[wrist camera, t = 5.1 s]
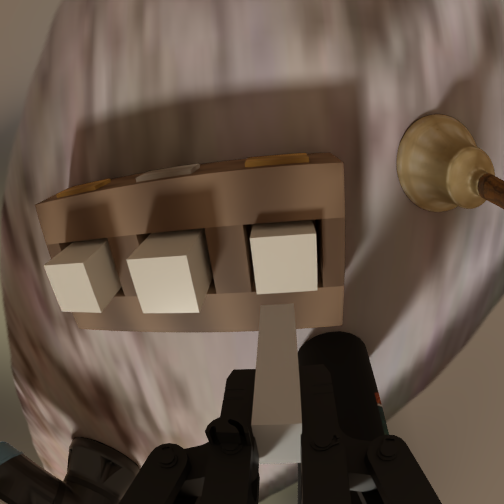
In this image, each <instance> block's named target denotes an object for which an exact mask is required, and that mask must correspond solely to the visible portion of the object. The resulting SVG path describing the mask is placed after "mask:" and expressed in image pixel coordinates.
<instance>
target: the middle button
mask: <svg viewBox="0 0 504 504" xmlns="http://www.w3.org/2000/svg"><path fill="white" fill-rule="evenodd" d="M126 260H127V264H128V267H129V270H130V274H131V277H132V280H133V284H134V287H135V290H136V293H137V296H138V299H139V302H140V305H141V308H142V311H143V313H200V310H201V307H202V305H203V302H204V299H205V297H206V294H207V291H208V289H209V286H210V283H211V281H212V278H213V272H212V267H211V262H210V256H209V251H208V245H207V240H206V234H205V228H199V229H188V230H177V231H167V232H157V233H151V234H150V235H149V236H148V237H147V238H146V239H145V240H144V241H143V242H142V243H141V244H140V245H139V247H138V248H137V249H136V250H135V251H134V252H133V253H132V254H131V255H130V256H129V257H128V258H127V259H126Z"/></svg>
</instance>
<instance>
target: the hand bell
mask: <svg viewBox="0 0 504 504" xmlns="http://www.w3.org/2000/svg"><path fill="white" fill-rule="evenodd" d="M397 174H398V178H399V181H400V184H401V187H402V188H403V190H404V193H405V194H406V195H407V196H408V198H409V199H410V200H411V201H412V202H413V203H414V204H416V205H417V206H419V207H420V208H422V209H424V210H427V211H432V212H443V211H448V210H451V209H453V208H455V207H457V206H459V207H461V208H466V209H472V208H476V207H478V206H480V205H482V204H483V203H484V202H485V201H486V200H488V201H489V202H491V203H493V204H495V205H497V206H499V207H501V208H503V209H504V181H503V180H501V179H499V178H498V177H495V173H494V167H493V164H492V162H491V160H490V158H489V156H488V155H487V154H486V153H485V152H484V151H483V150H482V149H480V148H477V146H476V143H475V141H474V139H473V137H472V136H471V134H470V133H469V131H468V130H467V129H466V128H465V126H464V125H463V124H461V123H460V122H459V121H458V120H456V119H454V118H452V117H450V116H446V115H441V114H434V115H428V116H425V117H423V118H421V119H419V120H417V121H416V122H415V123H414V124H412V125H411V126H410V127H409V129H408V130H407V131H406V133H405V134H404V136H403V138H402V140H401V142H400V145H399V148H398V153H397Z"/></svg>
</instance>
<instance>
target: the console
mask: <svg viewBox="0 0 504 504" xmlns="http://www.w3.org/2000/svg"><path fill="white" fill-rule="evenodd" d="M35 207H36V211H37V214H38V218H39V221H40V225H41V228H42V232H43V235H44V238H45V241H46V244H47V247H48V251H49V254H50V256H51V259H52V258H54V257H55V256H56V255H57V254H59V253H60V252H61V251H62V250H64V249H65V248H66V247H67V246H69V245H70V244H71V243H73V242H74V241H82V240H91V239H100V238H107V239H108V243H109V246H110V250H111V253H112V257H113V260H114V263H115V267H116V270H117V273H118V276H119V279H120V282H121V285H122V287H121V288H120V289H119V291H118V292H117V293H116V294H115V296H114V297H113V298H112V300H111V301H110V302H109V303H108V305H107V306H106V307H105V309H104V310H103V311H102V313H91V312H72V313H73V316H74V318H75V320H76V322H77V325H78V327H79V329H92V330H111V331H137V332H239V331H259V322H260V309H261V306H264V305H280V304H294V313H295V325H296V329H302V328H316V327H329V326H340V325H342V320H343V301H344V273H345V195H344V167H343V162H342V161H341V160H339V159H338V158H337V157H335V156H334V155H333V154H332V153H310V154H306V153H296V154H282V155H270V156H259V157H249V158H247V159H238V160H229V161H221V162H213V163H205V164H199V163H198V164H191V165H184V166H178V167H171V168H165V169H159V170H153V171H148V172H146V173H140V174H135V175H129V176H124V177H119V178H114V179H105V180H100V181H95V182H91V183H86V184H82V185H77V186H73V187H71V188H68V189H66V190H64V191H62V192H60V193H58V194H56V195H54V196H52V197H50V198H48V199H46V200H44V201H42V202H40V203H38V204H36V205H35ZM299 220H312V221H313V225H314V228H315V231H316V246H317V291H303V292H288V293H271V294H257V292H256V284H255V276H254V268H253V260H252V252H251V244H250V235H251V231H252V226H253V224H258V223H271V222H284V221H299ZM199 228H205V234H206V240H207V245H208V251H209V256H210V262H211V267H212V272H213V278H212V281H211V283H210V286H209V289H208V291H207V294H206V297H205V299H204V302H203V305H202V307H201V310H200V313H143V311H142V308H141V305H140V302H139V299H138V296H137V293H136V290H135V287H134V284H133V280H132V277H131V274H130V270H129V267H128V264H127V260H126V259H127V258H128V257H129V256H130V255H131V254H132V253H133V252H134V251H135V250H136V249H137V248H138V247H139V245H140V244H141V243H142V242H143V241H144V240H145V239H146V238H147V237H148V236H149V235H150V234H151V233H157V232H167V231H177V230H188V229H199Z"/></svg>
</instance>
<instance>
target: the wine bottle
mask: <svg viewBox="0 0 504 504" xmlns="http://www.w3.org/2000/svg"><path fill="white" fill-rule="evenodd" d="M319 364H324V365H325V367H326V368H327V369H328V370H329V372H330V374H331V380H332V386H333V393H334V398H335V404H336V411H337V417H338V424H339V427H340V429H341V430H342V432H343V433H345V434H346V435H347V436H349V437H351V438H354V439H358V440H365V441H373V440H374V439H376V438H377V437H379V436H383V435H389V433H388V429H387V425H386V421H385V416H384V412H383V408H382V405H381V401H380V397H379V393H378V389H377V386H376V382H375V378H374V375H373V371H372V367H371V364H370V360H369V357H368V354H367V350H366V347H365V344H364V343H363V342H362V341H361V339H360V338H358V337H356V336H354V335H353V334H350V333H345V332H328V333H324V334H321V335H318V336H315V337H314V338H312V339H310V340H309V341H307V342H306V343H305V344H304V345H303V346H302V347H301V348H300V349H299V351H298V365H299V366H307V365H319ZM350 495H351V504H362V502H361V500H360V497H359V495H358V493H357V491H352V490H350ZM298 504H301V463H298Z"/></svg>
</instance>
